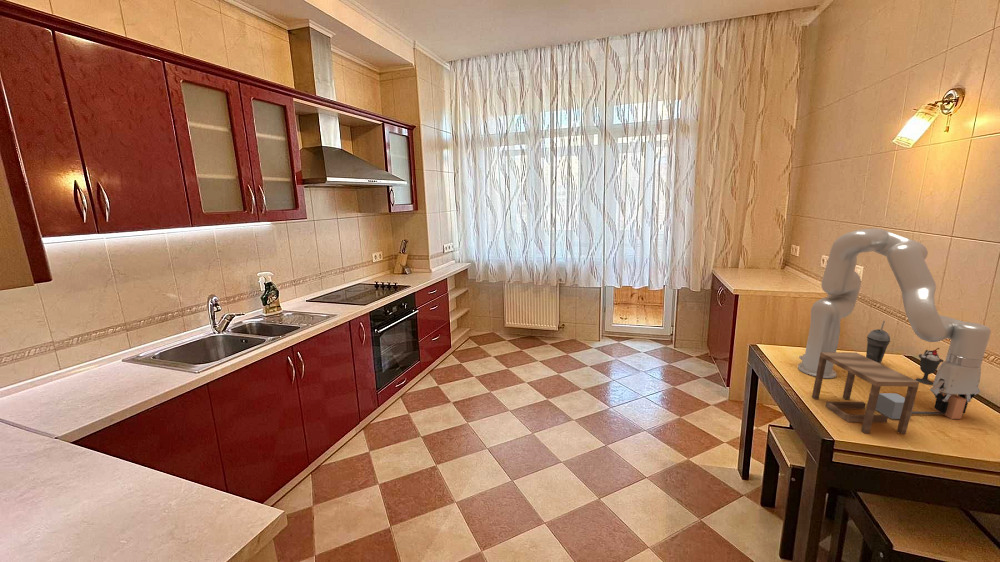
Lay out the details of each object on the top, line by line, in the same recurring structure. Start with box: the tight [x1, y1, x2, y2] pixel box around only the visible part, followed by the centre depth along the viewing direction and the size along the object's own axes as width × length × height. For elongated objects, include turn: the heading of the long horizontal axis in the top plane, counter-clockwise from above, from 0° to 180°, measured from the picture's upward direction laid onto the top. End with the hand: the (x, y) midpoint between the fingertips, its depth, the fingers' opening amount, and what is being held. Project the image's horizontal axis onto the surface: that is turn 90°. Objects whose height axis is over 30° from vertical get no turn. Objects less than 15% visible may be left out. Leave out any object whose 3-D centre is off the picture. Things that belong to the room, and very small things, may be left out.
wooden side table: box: [811, 351, 920, 435], centre depth 132 cm, size 22×13×18 cm, turn 179°
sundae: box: [915, 347, 944, 386], centre depth 155 cm, size 7×7×15 cm
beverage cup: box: [865, 320, 891, 364], centre depth 170 cm, size 7×7×20 cm
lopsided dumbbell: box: [875, 392, 966, 420], centre depth 133 cm, size 6×23×7 cm, turn 89°
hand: (949, 410), depth 133 cm, fingers open, 5 cm apart
